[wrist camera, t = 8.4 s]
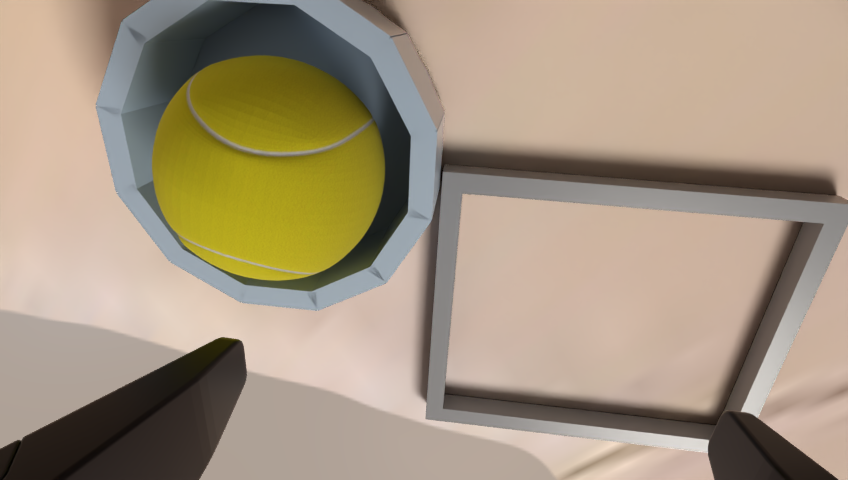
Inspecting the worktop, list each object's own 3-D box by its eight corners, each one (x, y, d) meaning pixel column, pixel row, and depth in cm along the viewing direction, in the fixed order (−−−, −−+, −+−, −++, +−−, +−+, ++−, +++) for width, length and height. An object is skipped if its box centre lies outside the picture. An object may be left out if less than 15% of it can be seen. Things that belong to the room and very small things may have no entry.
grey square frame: (838, 195, 18) (856, 204, 17) (729, 439, 23) (739, 456, 22) (444, 164, 19) (442, 171, 18) (427, 404, 24) (425, 419, 23)
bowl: (454, -12, 16) (447, -20, 13) (434, 269, 21) (425, 321, 17) (149, -28, 17) (61, -40, 14) (195, 246, 22) (139, 292, 18)
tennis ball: (237, 21, 17) (95, 24, 11) (422, 86, 17) (389, 125, 11) (215, 195, 20) (93, 277, 14) (372, 248, 20) (325, 352, 14)
